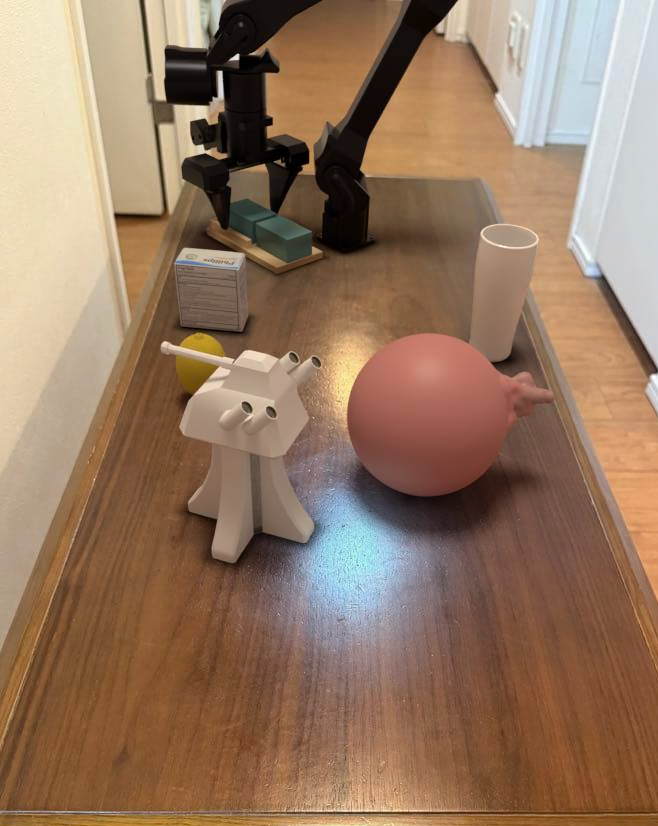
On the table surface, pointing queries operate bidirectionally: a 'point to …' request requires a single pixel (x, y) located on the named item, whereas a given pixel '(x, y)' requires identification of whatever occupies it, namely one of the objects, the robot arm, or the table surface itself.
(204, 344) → the lemon
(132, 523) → the table surface
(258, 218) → the teal rectangular block
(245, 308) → the medicine box
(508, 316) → the drinking glass
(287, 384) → the toy gun turret
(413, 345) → the balloon
